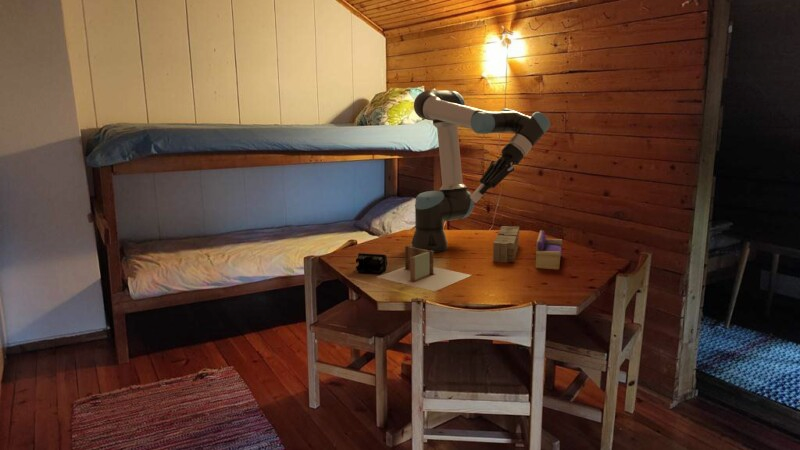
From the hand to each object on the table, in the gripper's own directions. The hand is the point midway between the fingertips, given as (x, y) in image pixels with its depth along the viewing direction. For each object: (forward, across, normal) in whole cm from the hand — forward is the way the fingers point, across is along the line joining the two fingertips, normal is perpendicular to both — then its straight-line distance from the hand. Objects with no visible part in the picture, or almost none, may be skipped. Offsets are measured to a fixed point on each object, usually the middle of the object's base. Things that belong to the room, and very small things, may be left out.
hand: (472, 199), depth 197 cm
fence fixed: (+31, +6, -5) cm, 32 cm away
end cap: (+42, +13, +5) cm, 45 cm away
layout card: (+31, 0, -6) cm, 32 cm away
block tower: (+1, +19, -37) cm, 41 cm away
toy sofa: (-5, +1, -42) cm, 42 cm away
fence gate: (+32, -2, -3) cm, 33 cm away
